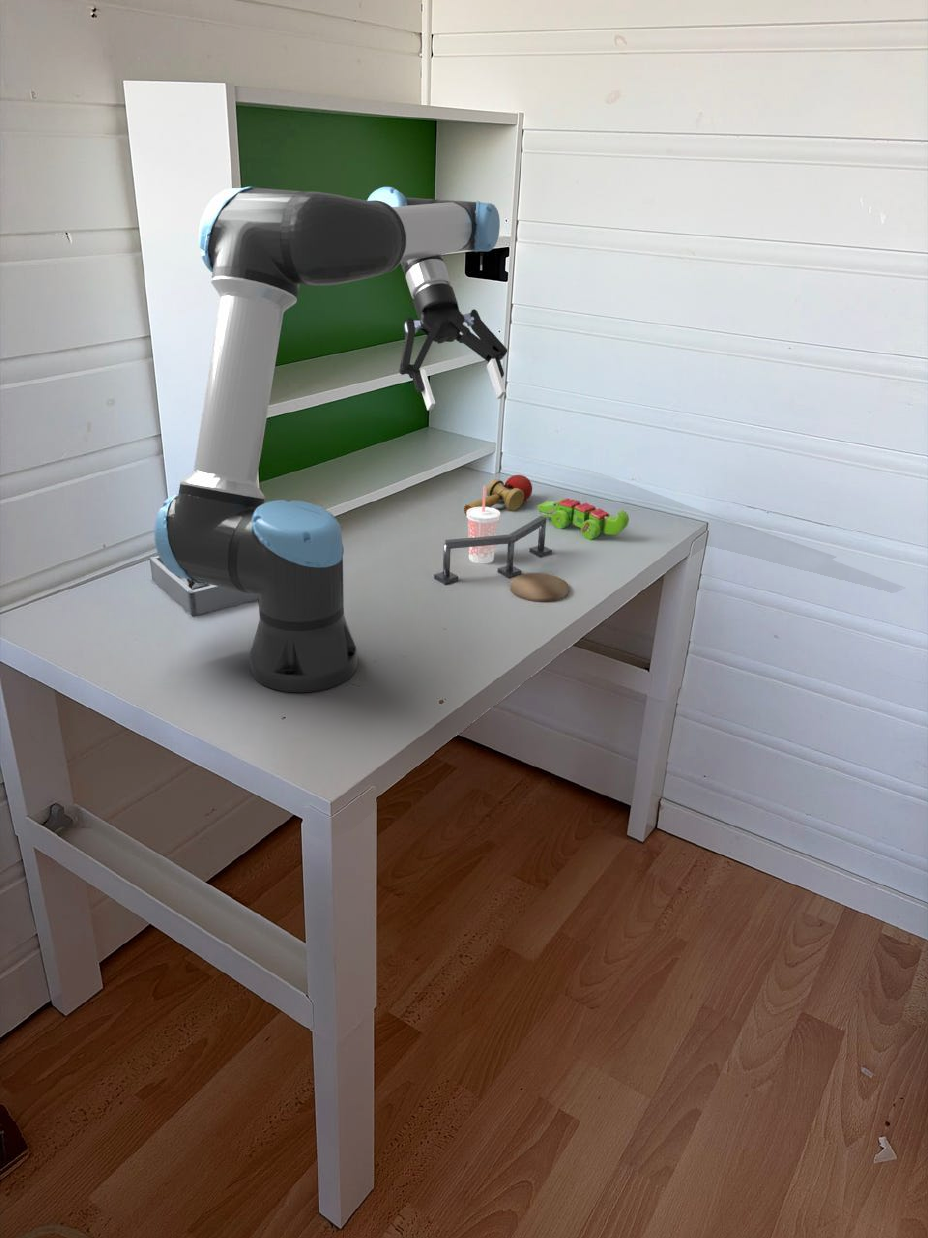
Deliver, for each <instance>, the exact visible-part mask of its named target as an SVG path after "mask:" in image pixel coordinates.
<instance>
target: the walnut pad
mask: <svg viewBox="0 0 928 1238" xmlns="http://www.w3.org/2000/svg"><path fill="white" fill-rule="evenodd" d="M569 586H570V585H569V583H568V582H567V581H566V580H564V579H563V578H562V577H558V576H556V575H553V574H547V573H540V572H539V573H538V572H536V573H535V572H531V573H524V574H521V575H517V576H514V577H512V579H511V581H510V586H509V590H510V591H511V593H512V594H513V595H514V596H516V597H518V598H520V599H522V600H525V601H526V600H527V601H530V602H537V603H550V602H557V601H560V600H562V599H565V597H567V596H568V594H569V590H570V587H569Z"/></svg>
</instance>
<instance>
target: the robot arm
mask: <svg viewBox="0 0 928 1238" xmlns="http://www.w3.org/2000/svg"><path fill="white" fill-rule="evenodd" d="M202 214H203V215H202V216H201V220H200V224H199V231H198V245H199V248H200V249H201V250H202V252H201V254H200V256H201V259H202V261H203V263H204V265H205V266H206V268H207V270H209V271H210V273H211V279H210V284H211V285H212V286H213V288H214V290H215V291H216V292H217V293H218V296H219V304H218V311H217V317H216V324H215V325H216V326H215V330H214V338H213V343H212V351H211V356H210V357H211V358H210V364H209V370H208V374H207V375H208V376H207V382H206V389H205V395H204V396H205V397H204V403H203V408H202V413H201V416H202V417H201V422H200V427H199V428H200V429H199V433H198V440H197V447H196V453H195V460H194V465H193V471H192V472H191V473H190V474H189V475H188V476H186V477H184V478H183V479H181V480H180V483H179V488H178V493H177V494H175V495H171V496H170V497H168V498H167V499H166V500H164V502H163V503H162V505H163V507H160V508H159V510H158V512H157V514H156V517H155V521H154V529H153V531H154V532H153V533H154V536H153V538H154V543H155V544H154V546H155V549H156V552H157V556H159V557H160V559H161V560H162V561H163V563H164V565H165V567H166V568H167V569H168V570H169V571H170V572H172V573H173V574H175V575H177V577H178V578H183V579H186V580H187V579H189V580H191V581H193V582H195V584H206V585H208V584H211V585H215V586H220V587H224V588H228V589H232V590H237V591H241V592H246V593H250V594H254V595H257V596H258V599H257V600H258V608H259V609H258V612H259V613H258V614H259V622H258V624H257V629H256V631H255V636H254V639H253V643H252V646H251V649H250V652H249V666H250V674H251V675H252V677H253V678H254V679H255V680H256V681H257V682H258V683H259V684H261V685H263V686H265V687H268V688H269V689H270V688H271V689H274V690H277V691H281V692H289V693H309V692H319V691H324V690H327V689H330V688H333V687H336V686H339V685H341V684H343V683H344V682H346V681H347V680H349V679H350V678H351V677H352V676H353V675H354V674H355V672H356V671H357V669H358V668H357V667H358V649H357V645H356V643H355V640H354V638H353V634H352V632H351V631H350V628H349V624H348V623H347V620H346V617H345V611H344V610H345V609H344V608H345V606H344V605H345V604H344V595H345V594H344V553H345V549H344V543H343V536H342V529H341V524H340V523H339V522H338V521H339V520H338V519H337V518H336V516H335V515H334V514H333V513H332V512H330V511H329V510H327V509H325V508H324V507H322V506H320V505H317V504H314V503H310V502H306V501H303V500H302V501H301V500H295V499H293V500H291V501H288V500H285V499H278V500H272V501H271V500H270V501H267V502H265V500H266V499H265V498H266V496H265V494H264V493H263V492H262V491H261V489H260V488H259V486H258V484H257V480H258V474H259V466H260V461H261V460H260V459H261V455H262V449H263V443H264V442H263V441H264V435H265V429H266V425H267V424H266V423H267V418H268V411H269V410H268V409H269V406H270V404H269V403H270V399H271V394H272V393H271V392H272V387H273V386H272V385H273V380H274V374H275V367H276V361H277V354H278V350H279V344H280V343H279V342H280V335H281V332H282V331H281V330H282V325H283V318H284V313H285V312H286V311H287V310H288V309H290V308H291V307H293V306H294V305H295V304H296V303H297V300H298V294H299V289H300V286H301V285H304V286H305V285H306V286H333V285H334V286H335V285H340V284H341V285H342V284H346V283H351V282H355V281H361V280H363V279H368V278H372V277H377V276H381V275H385V274H388V273H390V272H393V270H395V269H396V268H398V266H399V265H401V268H402V271H403V274H404V276H405V280H406V283H407V287H408V289H409V293H410V296H411V298H412V299H413V300H412V303H413V305H414V309H415V312H416V315H417V318H418V320H414V319H413V318H412V317H407V319H406V321H405V323H404V325H403V331H404V344H403V349H402V353H401V359H400V364H399V372H398V373H399V374H400V375H402V376H405V375H408V377H409V378H410V379H412V381H413V385H414V388H415V391H416V392H417V393H421V394H422V397H423V401H424V404H425V407H426V410H427V411H432V410H433V409H434V407H435V405H436V401H435V397H434V394H433V390H432V388H431V384H430V381H429V379H428V378H429V377H428V375H427V372H426V370H425V369H424V368H423V369H421V367H422V365H423V362H424V361H425V359H426V356H427V355H428V353H429V350H430V348H431V346H432V345H433V344H432V343H433V342H434V343H437V344H438V345H439V344H443V343H445V342H446V343H447V342H448V343H452V342H455V340H456V341H457V342H458V343H460V344H464V345H465V346H466V347H467V348H468V349H470V350H472V351H473V352H474V353H476V354H477V355H478V356H480V357H481V358H482V359H483V360H485V361H486V362H488V364H487V365H486V369H487V372H488V375H489V378H490V381H491V384H492V387H493V390H494V393H495V397H496V399H497V400H501V399H502V398H503V396H504V395H505V394H506V392H507V389H506V388H505V385H504V384H505V383H504V382H503V377H504V376H505V372H504V368H503V365H502V362H501V360H503V359H504V357H505V356H506V355H507V353H508V349H507V347H506V346H505V345H504V343H502V342H501V341H500V339H498V337H497V336H496V335H495V333H493V332H492V331H491V329H490V328H489V327H488V326H487V325H486V324H485V322H483V321H482V319H481V316H480V314H479V312H478V310H476V309H474V308H473V309H471V311H470V312H468V313H464V314H463V313H462V312H461V311H460V308H459V304H458V299H457V297H456V294H455V291H454V288H453V287H452V281H451V279H450V276H449V273H448V270H447V267H446V263H445V261H444V258H443V255H445V254H451V253H457V252H461V251H462V252H463V251H471V252H475V253H478V252H491V251H492V250H493V249H494V248H495V247H496V245H497V243H498V240H499V236H500V227H501V226H500V225H501V222H500V221H501V220H500V213H499V211H498V209H497V207H496V205H494V204H493V203H490V202H484V201H483V202H481V201H479V200H477V201H465V200H451V199H449V200H446V199H444V200H443V199H435V198H434V199H433V198H422V197H421V198H418V197H405V194H403V193H402V192H401V191H399V190H398V189H396V188H394V187H391V186H382V187H379V188H377V189H375V190H374V191H373V192H372V193H370V195H369V196H368V199H367V200H365V199H360V198H359V199H358V198H354V197H350V196H349V197H348V196H343V195H339V194H333V193H328V192H323V191H322V192H321V191H303V190H289V189H278V188H277V189H276V188H275V189H274V188H264V187H263V188H262V187H261V188H260V187H258V186H246V187H240V188H239V187H233V188H231V187H229V188H227V189H224V190H222V191H220V193H218V194H216V195H215V196H214V197H213V198H212V199H211V200H210V201H209V203H208V204H207V206H206V208H205V210H204V212H203V213H202ZM464 323H465V324H466V325H467V326H466V325H465V324H464ZM469 327H470V328H471V330H472V331H473V332H471V330H470V328H469ZM418 330H420V331H421V332H423V333H424V334H425V335H426V338H425V340H424V342H423V344H422V346H421V349H420V351H419V352H418V355H417V357H416V359H415V360H414V363H413V364H410V363H411V358H412V353H413V346H414V343H415V342H414V340H415V336H416V334H417V332H418Z"/></svg>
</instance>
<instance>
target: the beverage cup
mask: <svg viewBox="0 0 928 1238" xmlns="http://www.w3.org/2000/svg"><path fill="white" fill-rule="evenodd" d="M485 497H487V485H485V484H484V485H483V486H482V499H483V504H482V507H473V508H470V509H468V510H467V513H466V514H467V516H466V519H467V534H468V537H467V538H474V537H485V536H497V533H498V525H499V520H500V517H501V511H500V510H499V509H496V508H494V507H485ZM495 549H496V545H487V546H476V547H468V560H469V561H470V562H471V563H475V564H489V563H492V562H493V561H494V557H495V551H496V550H495Z"/></svg>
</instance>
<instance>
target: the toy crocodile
mask: <svg viewBox="0 0 928 1238" xmlns="http://www.w3.org/2000/svg"><path fill="white" fill-rule="evenodd" d="M537 510H538V512H539V514H540V516H544V517H547V518H551V519H550V520H551V523H552V525H553V526H554V528H556V529H559V530H562V529H566V528H567V527H568V526H569V525H570V524H572V525H573V526H575V527H578V528H580V533H581V535H582V536H583V538H585V539H587V540H594V539H597V538H598V536H600V533H602V534H605V535H611V536H612V535H618V534H620V533H621V532H622V531H624V529H625V528H627V526H628V525H629V521H630V519H629V514H628V513H627V511H625V510H624V509H620V510H619V511H618V513H617V517H616V516H613V515H610V513H608V512H607V511H605V510H604V509H602V508H601V507H600V508H596V506H595V505H593V504H590V503H588V502H585V503H581V501H579V500H575V499H570V498H561V499H558V500H557V501H550V500H547V501H545V502H543V503H540V504H538V505H537Z"/></svg>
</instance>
